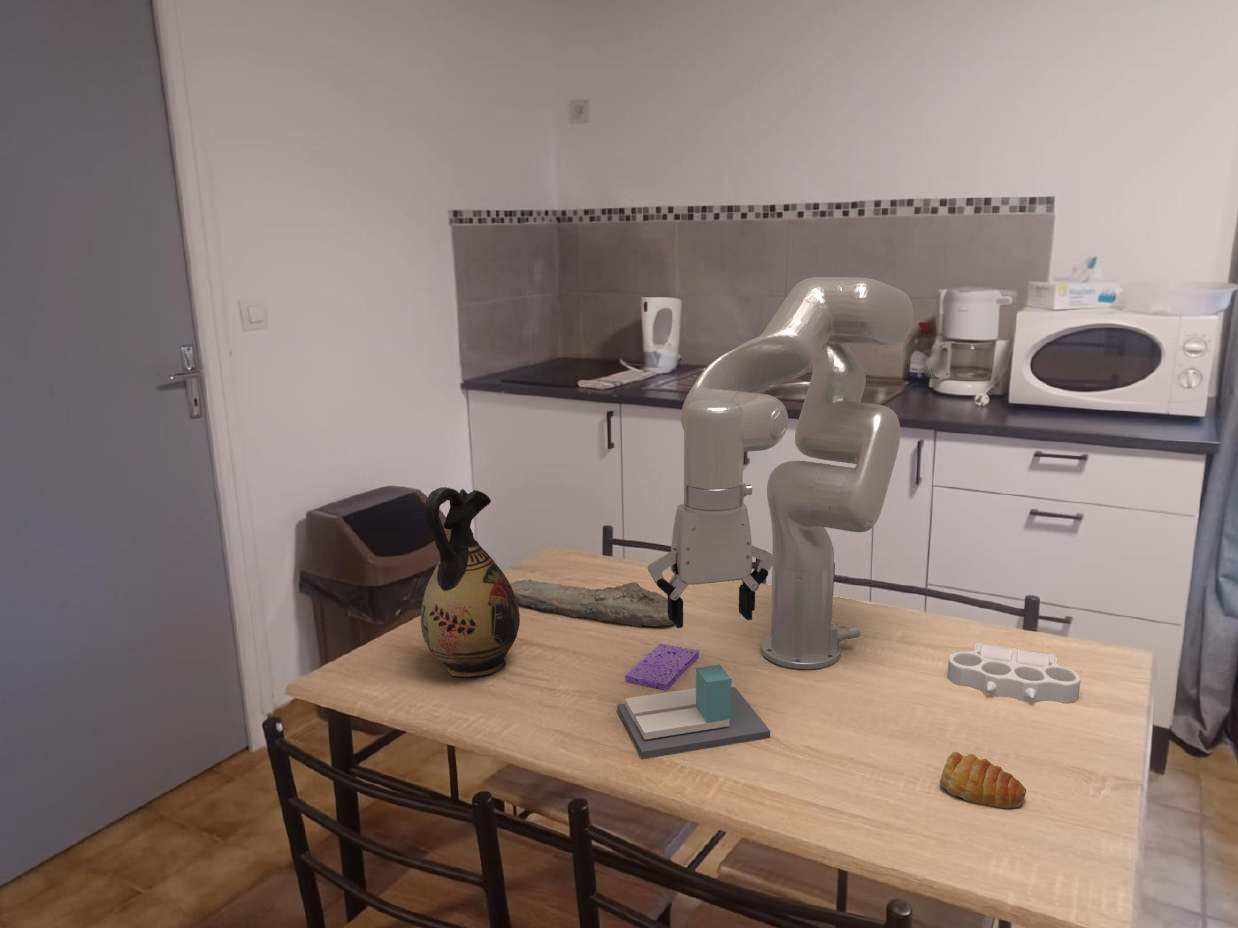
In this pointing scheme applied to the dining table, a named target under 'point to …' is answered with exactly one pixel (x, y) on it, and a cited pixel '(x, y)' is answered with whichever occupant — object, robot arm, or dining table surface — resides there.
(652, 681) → the sponges
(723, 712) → the stub
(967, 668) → the knuckle duster
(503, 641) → the ceramic jug
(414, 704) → the dining table surface
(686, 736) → the mat
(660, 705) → the ticket
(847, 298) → the robot arm
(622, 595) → the elongated rock
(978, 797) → the pastry
